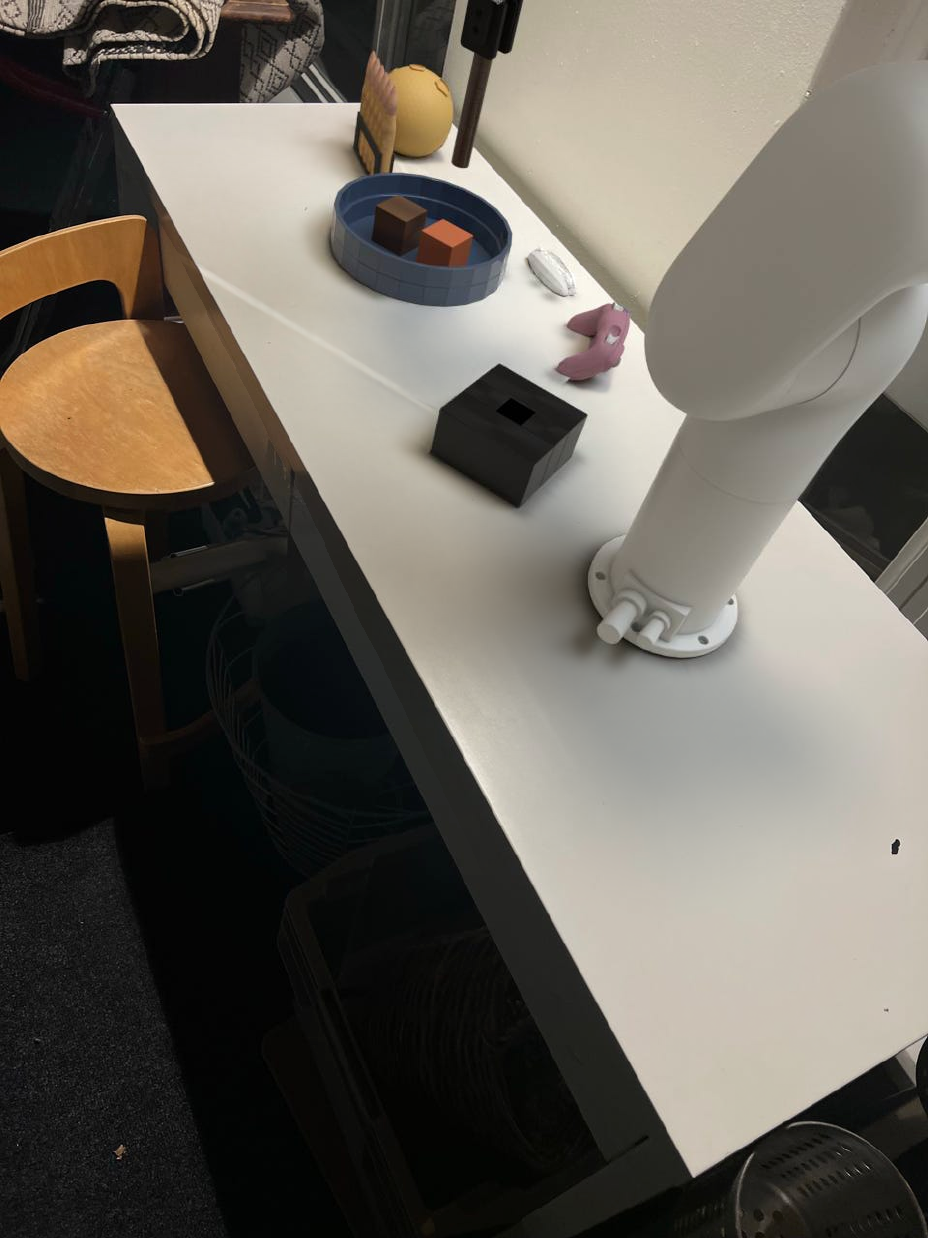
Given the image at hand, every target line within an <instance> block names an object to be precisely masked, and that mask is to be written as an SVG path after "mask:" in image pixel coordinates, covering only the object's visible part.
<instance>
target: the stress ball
mask: <svg viewBox="0 0 928 1238" xmlns="http://www.w3.org/2000/svg"><path fill="white" fill-rule="evenodd" d="M387 74H388V79H391V80H392V84H393V87H394V86H395V87H396V90H397V112H396V133H395V141H394V148H393V151H394V153H397V154H399V155H402V156H404V157H410V158H420V157H421V158H422V157H425V156H428V155H430V154H432V153H434V152H436V151H439V150H440V149H441V148H442V147H443V146H444V144H445V143H446V142H447V140H448V136H449V134H450V132H451V129H452V126H453V122H454V105H453V100H452V97H451V90H450V86H449V85H448V84H447V82H445V80H443V78H442V77H439V76H438V75H437V74H436V73H435V72H433V71H432V70H430V69H428V68H426V67H425V66H424V65H421V64H415V63H413V64H409V65H407V66H402V67H399V68H398V67H396V68H395V69H392V70H391V71H389V72H387Z"/></svg>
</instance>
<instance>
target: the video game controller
mask: <svg viewBox="0 0 928 1238" xmlns="http://www.w3.org/2000/svg"><path fill="white" fill-rule="evenodd" d="M630 323H631V314H630V313H629V311H628V310H627V309H626V308H624V307H623V306H622V305H617V303H616V301H614V302H612V303H610V302H609V303H605V304H603V305H600V306H599V307H596V308H594V309H590V310H587V311H583V312H580V313H577V314H576V315H574V316H572V317H571V318H570V319H569V320H568V322H567V324H566V327H567V329H570V330H571V331H574V332H576V333H579V334H580V335H583V336H589V337H591V336H593V338H591V340H590V341H589V342H588V343H589V344H588V348H587V350H585V351H581V352H579V353H577V354H573V355H570V356H567V357H565V358H564V359H562V360H561V361H559V363H558V364H557V367H556V371H557V372H558V373H560V374H561V375H564V376H566V377H569V378H568V380H569V381H581V380H585V379H588V378H591V377H593V376H597V375H599V374H601V373H602V374H603V373H606V372H608V371H610V370H611V369H615V368H617V367H618V366H620V364H621V362H622V355H623V354H624V352H625V349H626V347H625V344H624V343H625V341H626V340H627V336H628V334H629V328H630V325H631V324H630Z"/></svg>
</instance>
